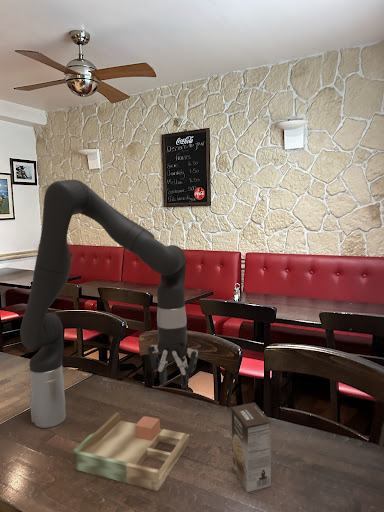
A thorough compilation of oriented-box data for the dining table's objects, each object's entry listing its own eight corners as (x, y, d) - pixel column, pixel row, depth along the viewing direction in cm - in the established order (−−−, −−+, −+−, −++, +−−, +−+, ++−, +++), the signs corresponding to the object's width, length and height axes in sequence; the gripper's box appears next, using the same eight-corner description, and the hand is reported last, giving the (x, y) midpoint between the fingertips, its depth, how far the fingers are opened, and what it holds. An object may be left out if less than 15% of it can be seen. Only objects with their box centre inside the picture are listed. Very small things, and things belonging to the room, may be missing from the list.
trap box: (74, 469, 96) (73, 450, 95) (117, 426, 114) (116, 410, 114) (157, 491, 88) (156, 470, 87) (189, 441, 106) (189, 423, 105)
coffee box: (231, 467, 95) (230, 405, 93) (254, 462, 97) (254, 401, 95) (246, 493, 86) (246, 426, 84) (272, 486, 88) (272, 420, 86)
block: (135, 437, 105) (134, 425, 105) (144, 427, 110) (143, 416, 109) (151, 440, 103) (151, 428, 103) (160, 430, 108) (159, 419, 108)
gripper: (140, 325, 99) (143, 387, 101) (192, 329, 94) (194, 396, 96) (153, 317, 106) (156, 376, 108) (202, 321, 101) (204, 383, 103)
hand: (174, 385), depth 102 cm, fingers open, 5 cm apart
